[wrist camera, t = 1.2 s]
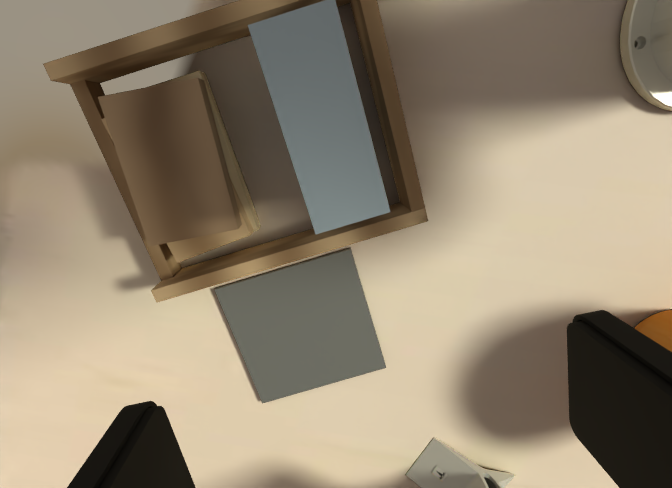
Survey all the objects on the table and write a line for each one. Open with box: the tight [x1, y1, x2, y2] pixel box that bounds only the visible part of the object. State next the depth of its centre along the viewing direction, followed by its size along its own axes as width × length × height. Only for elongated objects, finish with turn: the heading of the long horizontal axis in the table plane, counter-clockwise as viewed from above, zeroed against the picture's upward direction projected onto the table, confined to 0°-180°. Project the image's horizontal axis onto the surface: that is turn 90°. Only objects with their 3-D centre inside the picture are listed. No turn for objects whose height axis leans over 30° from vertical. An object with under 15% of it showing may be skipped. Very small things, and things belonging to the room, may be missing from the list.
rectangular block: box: [248, 0, 390, 234], centre depth 24 cm, size 4×10×12 cm, turn 16°
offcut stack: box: [98, 71, 261, 263], centre depth 28 cm, size 8×12×4 cm, turn 17°
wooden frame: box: [43, 0, 428, 302], centre depth 28 cm, size 21×17×4 cm
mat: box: [215, 248, 386, 403], centre depth 34 cm, size 12×12×1 cm
